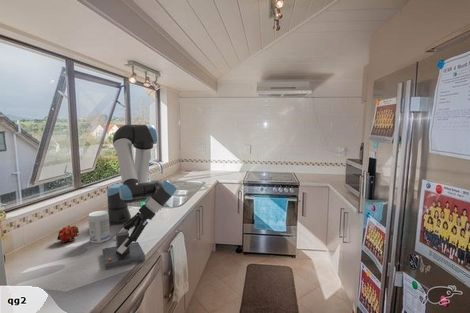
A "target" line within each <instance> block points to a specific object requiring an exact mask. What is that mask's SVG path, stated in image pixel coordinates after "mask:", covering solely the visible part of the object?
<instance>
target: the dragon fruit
mask: <svg viewBox="0 0 470 313" xmlns="http://www.w3.org/2000/svg"><path fill="white" fill-rule="evenodd" d="M79 234H80V231H79V227H78V226H76V225H72V226H71V225H67V227H66V226H65V227H63V228H62V229H61V230H59V231H58V236H57V238H56V240H57V241H59V242H60V243H61V244H62V243H66V242H68V241H70V242H72V241H74V239H75V238H77V237H79Z"/></svg>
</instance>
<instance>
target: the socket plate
mask: <svg viewBox="0 0 470 313" xmlns="http://www.w3.org/2000/svg"><path fill="white" fill-rule="evenodd" d="M101 251H102V259H103V264H104V269H105V270H110V269H113V268H114V269H115V268H118V267H122V266H126V265H131V264H134V263H139V262H143V261H145V260H146V254H145V252H144V250H143V249H142V247H141V245H140V243H139V242H138V241H136V242H132V243H131V244H130V253H126V254H121V255H118V254H117V245H116V246H111V247H106V248H102V250H101Z"/></svg>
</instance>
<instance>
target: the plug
mask: <svg viewBox="0 0 470 313" xmlns="http://www.w3.org/2000/svg"><path fill="white" fill-rule="evenodd" d="M119 232H120V231H119ZM119 232H116V233H115V236H116V241H115V242H116V246H117V249H118V248H119V247H120V246H121V245H122V244H123V243H124V241H125V240H126V239H127V237H130V233H129V231H128V230H127V231H126V232H120V233H119ZM126 253H130V245H129V247H128V248H127V249H126V250H125V251H124V252H123V253H122V254H126ZM117 254H118V255H121V253H120V252H118V251H117Z"/></svg>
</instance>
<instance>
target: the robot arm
mask: <svg viewBox="0 0 470 313" xmlns="http://www.w3.org/2000/svg"><path fill="white" fill-rule="evenodd" d="M157 133H158V132H157V129H156V128H155V125H154V124H153V125H152V124H123V125H122V126H119V128H117V129H116V131H115V133H114V134H113V137H112V146H113V148H114V150H115V151H116V156H117V162H118V166H119V172H120V177H121V181H122V183H116V184H115V183H114V184H113V185H109V186H108V187H107V189H106V190H107V192H106V196H107V211H108V215H109V225H121V224H123V227H122V228H121V229H120V231H119V232H118V233H120V232H126V231H128V232H129V231H130V229H132V228H133V229H132V231H131V233H130V234H129V237H127V239H126V240H125V241H124V243H123V244H122V245H121V246H120V247H119V248H118V249H117V251H118V252H120V253H121V254H122V253H123V252H124V251H125V250H126V249H127V248H128V247H129V245H130V244H131V243H134V242H138V239H139V238H140V236H141V234H142V232H143V230H145V228H146V227H147V225H148V224H149V222H148V221H147V220H150V221H152V219H153V218H154V217H155V216H156V214H157V213H159V211H161V210H162V208H163V206H164V205H165V204H167V202H168V201H169V200H170V199H171V198H172V196H174V194H175V193H176V192H177V189H178V188H177V187H176V186H175V185H174V184H173V183H172V182H171V181H169V180H167V179H166V180H164V181H162V180H158V179H154V180H151V181H149V170H150V158H151V157H150V156H151V150H152V149H153V148H154V145H156V144H157V142H158V135H157ZM132 146H133V148H134V149H135V152H134V155H133V152H132V151H133V150H132ZM142 202H144V204H142V205H141V207H140V208H139V209H138V211H137V212H136V214H135V215H133V216H132V214H131V213H130V210H129V208H128V207H129V204H134V203H135V204H136V203H142ZM112 239H113V240H114V241H115V242H116V235H115V236H114V237H113V238H112Z"/></svg>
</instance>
